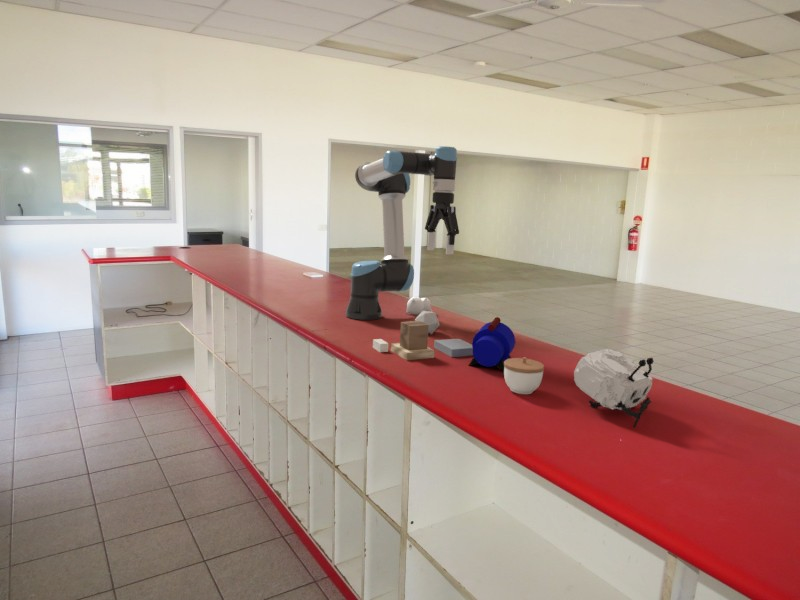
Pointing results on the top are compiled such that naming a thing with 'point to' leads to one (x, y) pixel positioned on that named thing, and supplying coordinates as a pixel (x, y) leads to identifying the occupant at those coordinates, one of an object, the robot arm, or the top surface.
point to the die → (429, 320)
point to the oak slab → (412, 352)
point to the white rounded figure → (418, 305)
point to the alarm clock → (493, 344)
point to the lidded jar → (523, 374)
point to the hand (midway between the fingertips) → (439, 252)
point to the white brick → (380, 345)
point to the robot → (614, 381)
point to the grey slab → (454, 347)
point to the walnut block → (414, 335)
